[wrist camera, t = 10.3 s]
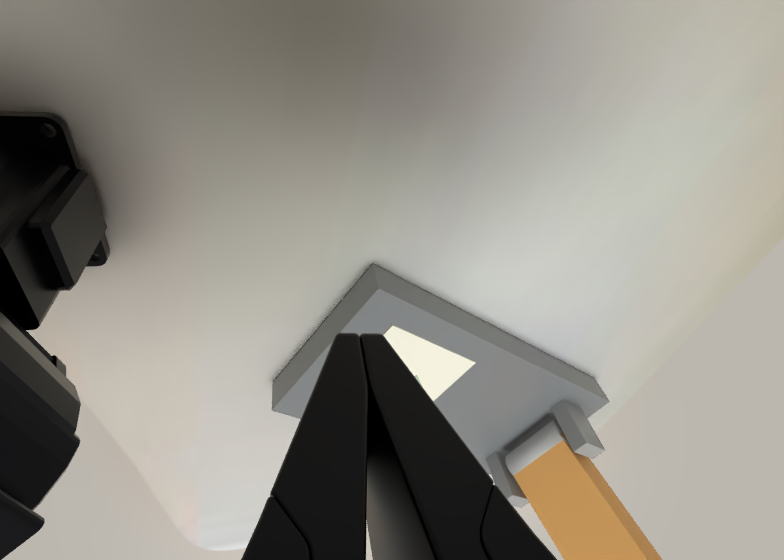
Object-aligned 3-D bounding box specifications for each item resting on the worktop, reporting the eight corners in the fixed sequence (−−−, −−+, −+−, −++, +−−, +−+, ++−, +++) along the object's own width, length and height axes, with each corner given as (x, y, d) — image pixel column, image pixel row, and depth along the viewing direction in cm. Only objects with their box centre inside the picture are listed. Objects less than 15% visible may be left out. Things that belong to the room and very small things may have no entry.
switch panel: (272, 382, 28) (270, 462, 24) (372, 263, 24) (390, 336, 20) (495, 454, 37) (520, 520, 33) (594, 378, 33) (637, 443, 29)
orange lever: (500, 456, 32) (594, 611, 27) (548, 419, 31) (659, 577, 25) (514, 453, 34) (606, 599, 28) (561, 418, 32) (668, 567, 27)
